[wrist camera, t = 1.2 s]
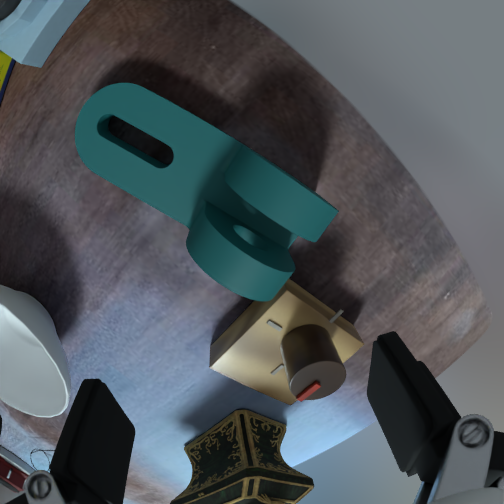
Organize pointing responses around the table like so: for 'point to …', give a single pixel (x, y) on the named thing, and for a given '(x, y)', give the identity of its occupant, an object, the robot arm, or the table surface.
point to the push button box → (37, 28)
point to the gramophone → (13, 471)
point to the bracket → (205, 188)
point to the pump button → (8, 7)
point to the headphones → (0, 424)
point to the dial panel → (276, 339)
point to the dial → (311, 362)
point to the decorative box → (242, 464)
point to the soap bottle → (8, 494)
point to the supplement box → (5, 71)
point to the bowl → (31, 357)
